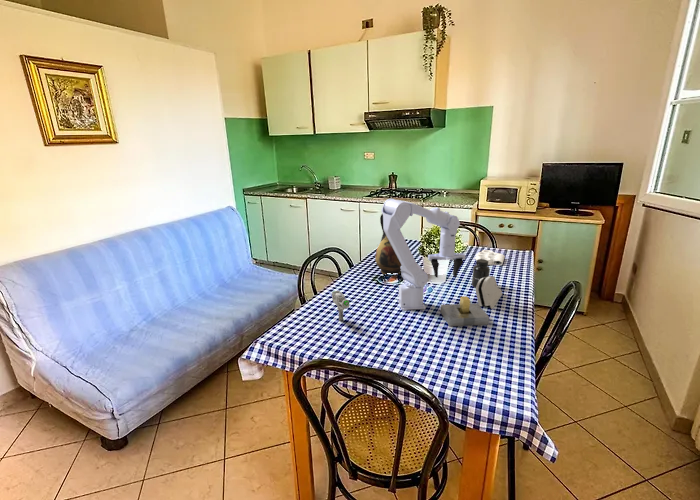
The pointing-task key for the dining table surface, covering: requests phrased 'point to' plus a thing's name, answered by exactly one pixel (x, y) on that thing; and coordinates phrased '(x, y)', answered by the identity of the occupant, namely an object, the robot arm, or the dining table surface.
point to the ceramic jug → (387, 255)
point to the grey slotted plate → (464, 315)
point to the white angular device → (488, 291)
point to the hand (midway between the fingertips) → (445, 276)
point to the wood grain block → (464, 305)
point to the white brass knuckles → (490, 257)
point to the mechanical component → (340, 302)
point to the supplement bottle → (480, 271)
